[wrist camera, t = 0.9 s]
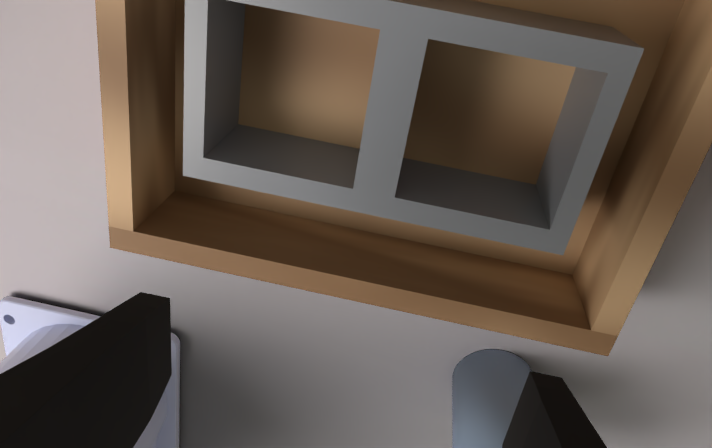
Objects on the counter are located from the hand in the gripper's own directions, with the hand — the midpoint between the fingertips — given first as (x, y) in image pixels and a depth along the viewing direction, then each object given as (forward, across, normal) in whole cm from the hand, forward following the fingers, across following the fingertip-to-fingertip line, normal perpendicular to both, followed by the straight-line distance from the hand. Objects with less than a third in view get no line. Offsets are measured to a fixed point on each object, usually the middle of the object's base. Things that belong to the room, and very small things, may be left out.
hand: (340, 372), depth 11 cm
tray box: (+10, 0, -3) cm, 10 cm away
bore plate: (+10, 0, -3) cm, 10 cm away
